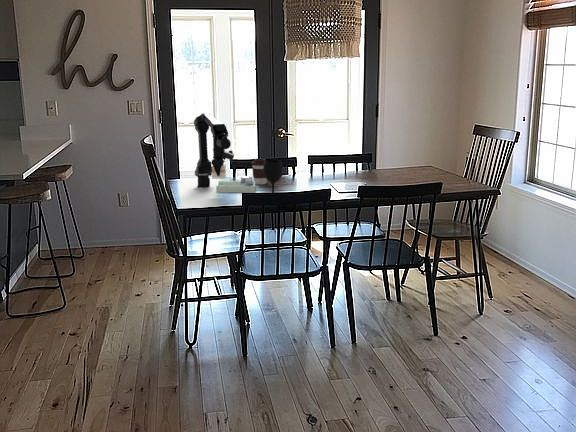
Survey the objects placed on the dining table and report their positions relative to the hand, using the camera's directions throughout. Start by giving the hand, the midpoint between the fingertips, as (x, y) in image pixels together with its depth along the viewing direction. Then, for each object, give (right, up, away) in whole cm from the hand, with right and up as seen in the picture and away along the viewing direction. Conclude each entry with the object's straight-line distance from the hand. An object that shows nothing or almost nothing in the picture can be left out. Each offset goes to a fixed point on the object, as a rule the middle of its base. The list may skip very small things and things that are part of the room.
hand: (218, 175), depth 339 cm
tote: (+8, -8, +12) cm, 16 cm away
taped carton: (0, -1, 0) cm, 2 cm away
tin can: (+14, -7, +12) cm, 20 cm away
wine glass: (+30, -13, -8) cm, 33 cm away
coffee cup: (+21, -4, +31) cm, 37 cm away
